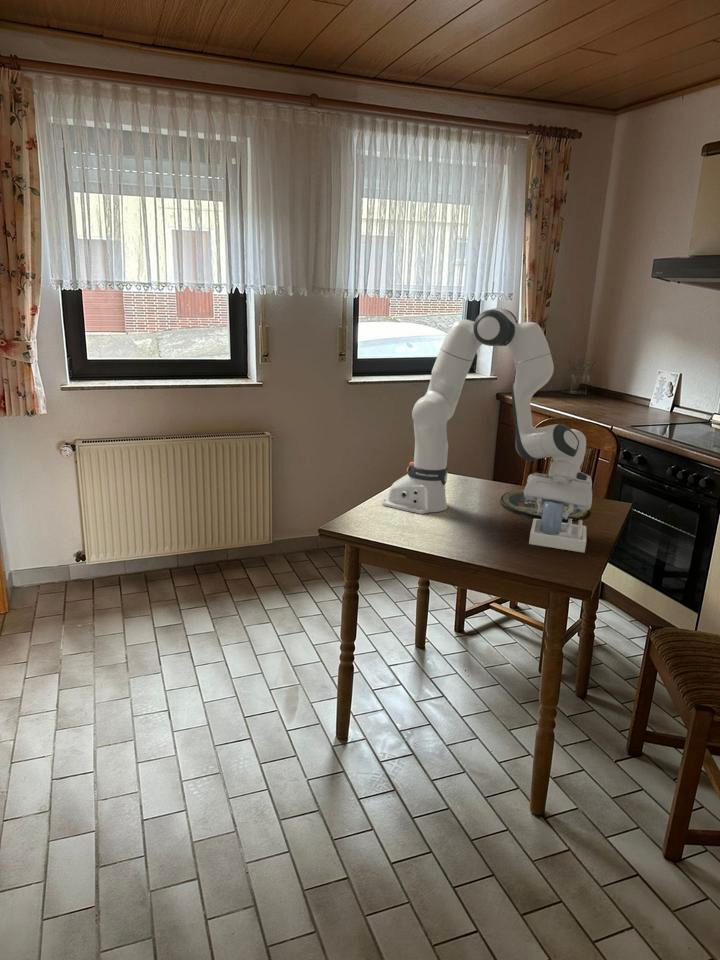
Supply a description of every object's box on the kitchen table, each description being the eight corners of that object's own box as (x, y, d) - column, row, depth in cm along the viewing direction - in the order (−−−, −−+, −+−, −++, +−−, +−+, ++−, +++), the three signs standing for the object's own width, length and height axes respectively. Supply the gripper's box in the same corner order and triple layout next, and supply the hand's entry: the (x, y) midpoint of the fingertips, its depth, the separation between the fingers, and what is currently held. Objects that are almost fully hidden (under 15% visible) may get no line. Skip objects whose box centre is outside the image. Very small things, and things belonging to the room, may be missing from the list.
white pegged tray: (528, 543, 201) (531, 525, 199) (532, 528, 214) (534, 510, 212) (584, 552, 197) (587, 533, 195) (584, 536, 209) (587, 518, 208)
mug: (539, 534, 202) (542, 506, 199) (540, 526, 209) (544, 499, 206) (559, 538, 200) (563, 509, 198) (560, 529, 207) (564, 502, 204)
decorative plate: (500, 511, 224) (500, 485, 252) (499, 516, 225) (499, 490, 253) (593, 522, 219) (582, 494, 247) (592, 527, 220) (582, 499, 248)
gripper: (528, 466, 211) (516, 504, 205) (596, 477, 202) (585, 517, 196) (530, 476, 216) (519, 513, 210) (596, 488, 207) (586, 527, 201)
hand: (551, 515), depth 203 cm, fingers closed on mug, 6 cm apart
